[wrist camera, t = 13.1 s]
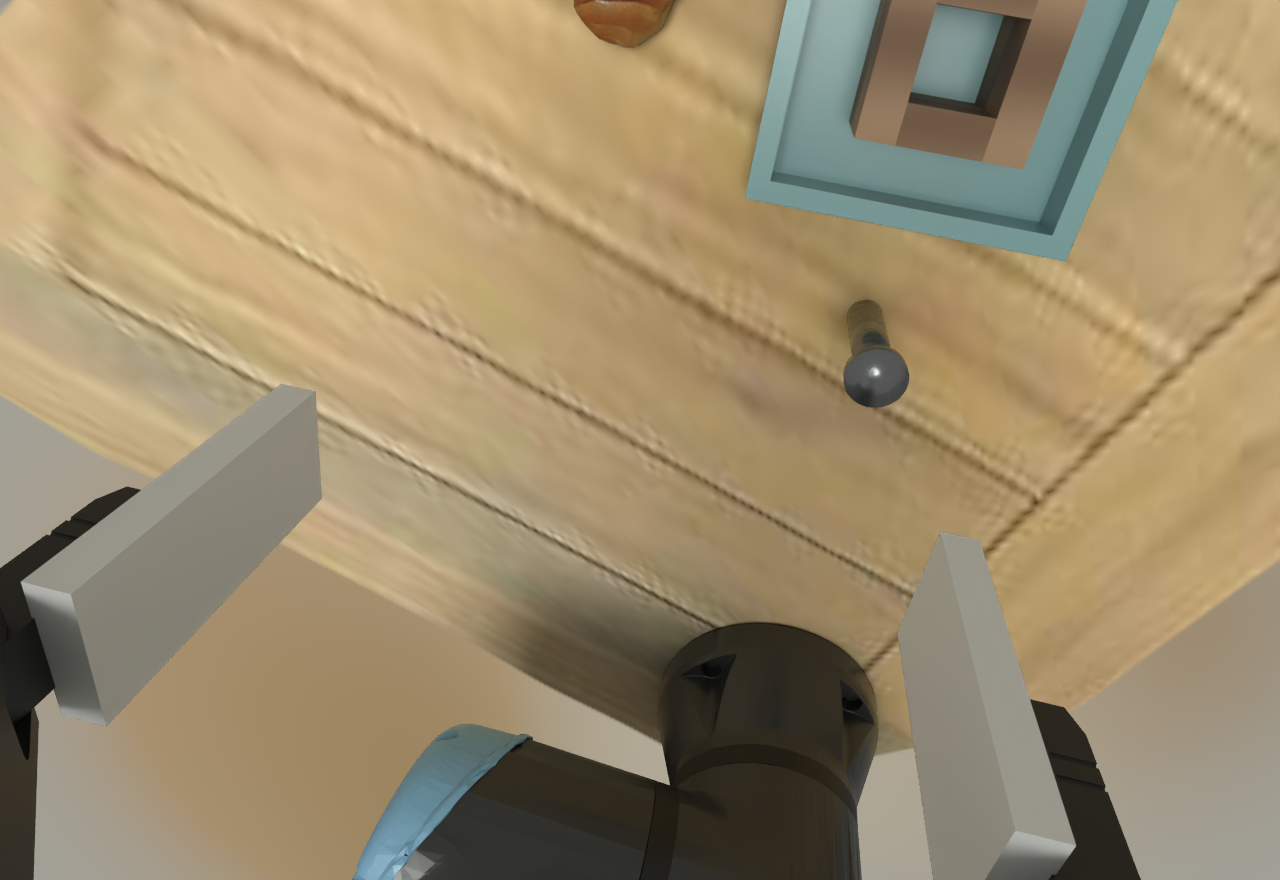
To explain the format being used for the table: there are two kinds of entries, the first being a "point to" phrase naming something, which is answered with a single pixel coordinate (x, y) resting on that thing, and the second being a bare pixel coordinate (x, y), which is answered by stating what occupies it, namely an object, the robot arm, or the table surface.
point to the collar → (1008, 96)
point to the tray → (954, 69)
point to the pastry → (623, 19)
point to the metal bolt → (872, 359)
